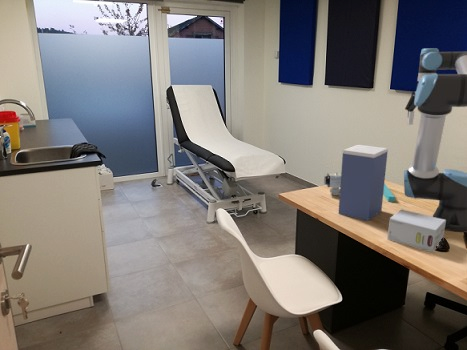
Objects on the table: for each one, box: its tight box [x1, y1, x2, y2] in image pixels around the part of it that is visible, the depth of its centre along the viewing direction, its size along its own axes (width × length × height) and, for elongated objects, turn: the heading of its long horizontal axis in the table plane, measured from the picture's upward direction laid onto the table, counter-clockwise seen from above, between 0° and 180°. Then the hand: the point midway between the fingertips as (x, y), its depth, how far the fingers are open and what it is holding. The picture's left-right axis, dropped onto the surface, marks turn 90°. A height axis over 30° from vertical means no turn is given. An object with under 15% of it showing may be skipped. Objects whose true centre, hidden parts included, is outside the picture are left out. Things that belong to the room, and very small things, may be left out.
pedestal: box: [338, 144, 389, 222], centre depth 176 cm, size 16×14×30 cm
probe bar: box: [383, 182, 396, 203], centre depth 204 cm, size 24×3×3 cm, turn 171°
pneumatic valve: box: [323, 172, 341, 196], centre depth 203 cm, size 6×12×12 cm, turn 88°
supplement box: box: [387, 208, 446, 253], centre depth 149 cm, size 17×13×9 cm
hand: (420, 126), depth 191 cm, fingers open, 13 cm apart
